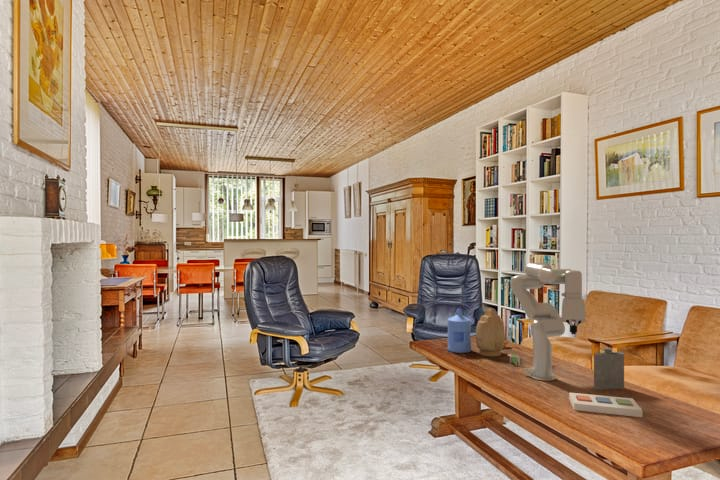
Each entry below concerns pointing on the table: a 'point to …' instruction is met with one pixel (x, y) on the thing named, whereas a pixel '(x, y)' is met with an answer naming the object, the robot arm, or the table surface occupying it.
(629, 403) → the olive green button
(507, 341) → the magic lamp
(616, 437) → the table surface
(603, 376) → the hip flask
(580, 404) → the button board
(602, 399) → the slate blue button
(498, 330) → the sculpture
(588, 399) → the terracotta button
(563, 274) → the robot arm
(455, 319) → the water jug
